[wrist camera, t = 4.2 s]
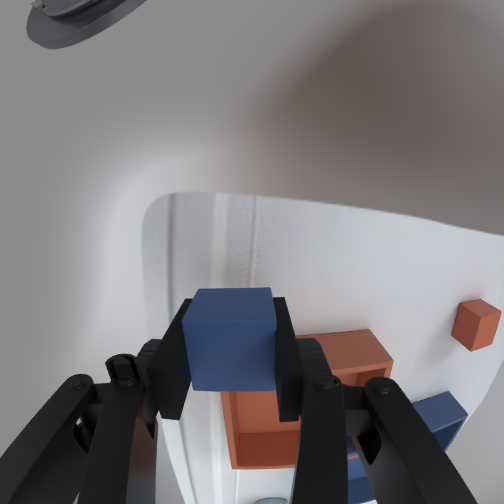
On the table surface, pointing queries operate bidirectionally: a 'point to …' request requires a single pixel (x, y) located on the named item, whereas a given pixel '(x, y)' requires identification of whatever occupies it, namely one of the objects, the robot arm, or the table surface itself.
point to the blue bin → (438, 421)
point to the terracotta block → (476, 324)
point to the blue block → (231, 339)
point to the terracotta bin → (287, 433)
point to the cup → (272, 501)
